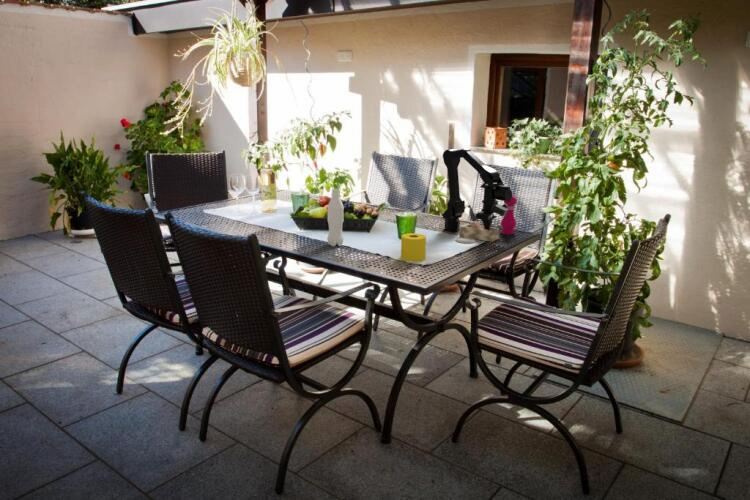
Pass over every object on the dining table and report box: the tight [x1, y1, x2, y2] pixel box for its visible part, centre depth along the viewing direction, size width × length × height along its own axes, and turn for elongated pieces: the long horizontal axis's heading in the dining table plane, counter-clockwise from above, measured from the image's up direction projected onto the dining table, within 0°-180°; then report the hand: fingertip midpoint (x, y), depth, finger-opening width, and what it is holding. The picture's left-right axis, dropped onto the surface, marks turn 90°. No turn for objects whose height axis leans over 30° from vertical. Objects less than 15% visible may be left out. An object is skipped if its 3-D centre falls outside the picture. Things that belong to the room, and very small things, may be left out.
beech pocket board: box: [459, 223, 500, 243], centre depth 288 cm, size 16×8×5 cm, turn 59°
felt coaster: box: [455, 236, 477, 244], centre depth 282 cm, size 9×9×1 cm
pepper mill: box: [500, 192, 518, 235], centre depth 296 cm, size 7×7×20 cm
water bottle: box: [326, 188, 345, 247], centre depth 267 cm, size 7×7×25 cm
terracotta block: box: [470, 219, 484, 229], centre depth 288 cm, size 9×4×2 cm
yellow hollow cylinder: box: [400, 232, 427, 263], centre depth 251 cm, size 10×10×9 cm
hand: (487, 231), depth 286 cm, fingers closed
